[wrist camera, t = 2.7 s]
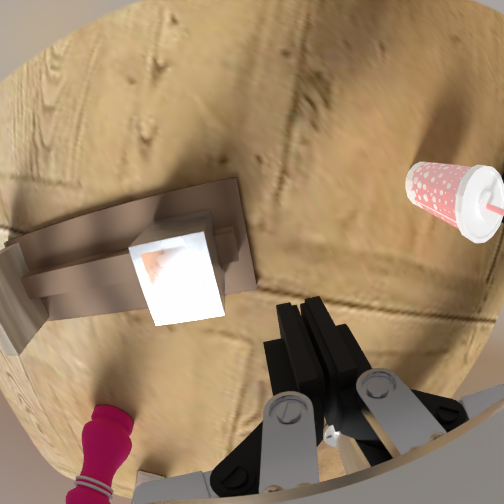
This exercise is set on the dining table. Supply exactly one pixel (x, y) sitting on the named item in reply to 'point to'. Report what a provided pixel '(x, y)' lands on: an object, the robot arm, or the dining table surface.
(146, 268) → the block
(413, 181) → the beverage cup
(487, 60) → the dining table surface
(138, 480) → the syrup box
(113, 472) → the pepper mill
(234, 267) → the rail
